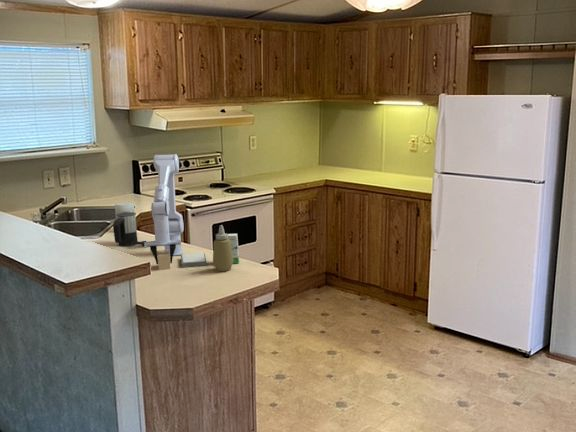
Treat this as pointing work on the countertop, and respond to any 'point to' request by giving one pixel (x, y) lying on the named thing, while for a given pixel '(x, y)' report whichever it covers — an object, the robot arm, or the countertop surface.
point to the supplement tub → (124, 207)
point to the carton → (163, 260)
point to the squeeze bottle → (222, 251)
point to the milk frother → (126, 229)
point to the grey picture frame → (193, 260)
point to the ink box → (234, 247)
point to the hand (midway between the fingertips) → (164, 263)
